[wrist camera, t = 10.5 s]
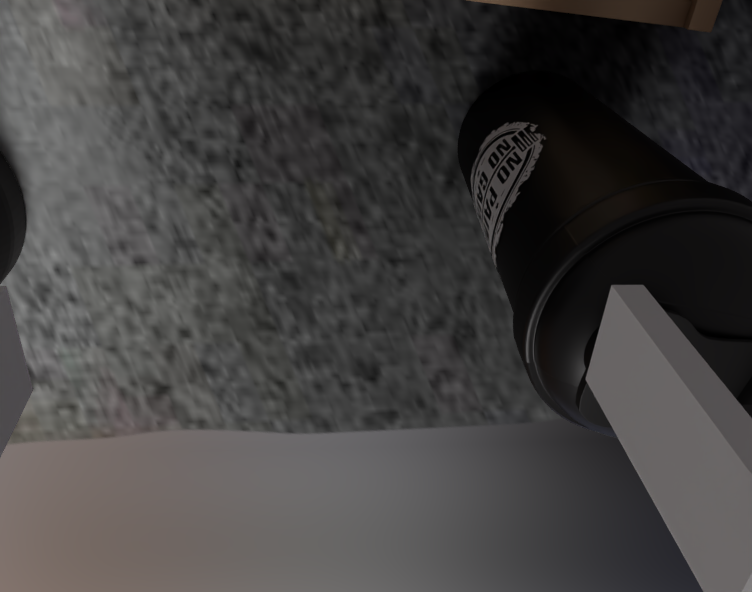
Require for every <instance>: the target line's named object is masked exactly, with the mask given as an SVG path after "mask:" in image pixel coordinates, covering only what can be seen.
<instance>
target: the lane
mask: <svg viewBox="0 0 752 592" xmlns="http://www.w3.org/2000/svg"><path fill="white" fill-rule="evenodd" d="M468 1H476V2H484V3H492V4H500V5H508V6H516V7H524V8H532V9H540V10H548V11H556V12H564V13H572V14H580V15H588V16H596V17H604V18H612V19H620V20H628V21H636V22H644V23H652V24H660V25H668V26H676V27H684V28H686V29H688V30H696V31H704V32H711V31H712V28H713V26H714V23H715V20H716V17H717V14H718V11H719V9H720V6H721V3H722V0H468Z"/></svg>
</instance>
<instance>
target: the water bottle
mask: <svg viewBox="0 0 752 592" xmlns="http://www.w3.org/2000/svg"><path fill="white" fill-rule="evenodd" d="M458 158H459V163H460V167H461V170H462V173H463V176H464V178H465V181H466V184H467V187H468V189H469V192H470V195H471V197H472V200H473V203H474V206H475V210H476V213H477V214H478V215H477V217H478V218H479V219H480V220H479V221H480V224H481V228H482V230H483V232H484V236H485V239H486V241H487V244H488V247H489V250H490V253H491V252H492V253H491V255H492V258H493V261H494V264H495V266H497V267H496V269H497V270H498V271H497V272H499V274H500V277H501V278H500V279H501V280H502V282H503V285H504V288H505V291H506V293H507V296H508V299H509V301H510V304H511V307H512V310H513V312H514V315H513V332H514V339H515V341H516V344H517V348H518V351H519V354H520V356H521V359H522V361H523V364H524V366H525V369H526V371H527V374H528V376H529V379H530V381H531V383H532V385H533V387H534V388H535V390H536V391H537V393H538V394H539V396H540V397H541V398H542V400H543V401H544V402H545V403H546V404H547V405H548V406H549V407H550V408H551V409H552V410H553V411H554V412H556V413H557V414H558V415H560V416H561V417H563V418H564V419H566V420H567V421H569V422H571V423H573V424H575V425H577V426H580V427H582V428H585V429H589V430H592V431H596V432H599V433H602V434H605V435H608V436H612V437H616V438H618V437H617V435H616V433H615V432H614V430H613V428H612V426H611V424H610V423H609V421H608V419H607V417H606V416H605V414H604V412H603V410H602V408H601V407H600V405H599V403H598V401H597V399H596V398H595V396H594V394H593V392H592V390H591V389H590V387H589V385H588V383H587V381H586V380H585V379H586V376H587V372H588V368H589V365H590V361H591V357H592V354H593V350H594V347H595V343H596V339H597V336H598V332H599V328H600V325H601V321H602V318H603V314H604V310H605V307H606V303H607V299H608V296H609V292H610V289H611V285H644V286H645V288H646V289H647V290H648V291H649V292H650V294H651V295H652V296H653V297H654V299H655V300H656V301H657V302H658V304H659V305H660V306H661V307H662V308H663V310H664V311H665V312H666V313H667V315H668V316H669V317H670V318H671V320H672V321H673V322H674V323H675V324H676V326H677V327H678V328H679V329H680V331H681V332H682V333H683V334H684V336H685V337H686V338H687V339H688V340H689V342H690V343H691V344H692V345H693V347H694V348H695V349H696V350H697V352H698V353H699V354H700V355H701V356H702V358H703V359H704V360H705V361H706V363H707V364H708V365H709V366H710V368H711V369H712V370H713V371H714V372H715V374H716V375H717V376H718V377H719V379H720V380H721V381H722V382H723V383H724V385H725V386H726V387H727V388H728V390H729V391H730V392H731V393H732V395H733V396H734V397H735V398H736V399H737V401H738V402H739V403H740V404H741V405H752V202H751V201H750V200H749V199H747V198H746V197H744V196H742V195H741V194H739V193H737V192H735V191H733V190H730V189H728V188H725V187H722V186H719V185H716V184H713V183H709V182H708V181H706V180H705V179H703V178H702V177H701V176H699V175H698V174H697V173H695V172H694V171H693V170H691V169H690V168H689V167H687V166H686V165H685V164H683V163H682V162H681V161H679V160H678V159H677V158H675V157H674V156H673V155H671V154H670V153H669V152H667V151H666V150H665V149H663V148H662V147H661V146H659V145H658V144H657V143H655V142H654V141H653V140H651V139H650V138H649V137H647V136H646V135H645V134H643V133H642V132H641V131H639V130H638V129H637V128H635V127H634V126H633V125H631V124H630V123H629V122H627V121H626V120H624V119H623V118H622V117H620V116H619V115H618V114H616V113H615V112H614V111H612V110H611V109H610V108H608V107H607V106H606V105H604V104H603V103H602V102H600V101H599V100H598V99H596V98H595V97H594V96H592V95H591V94H590V93H588V92H587V91H586V90H584V89H583V88H582V87H580V86H579V85H578V84H576V83H575V82H574V81H572V80H570V79H569V78H567V77H564V76H562V75H559V74H556V73H552V72H546V71H530V72H523V73H519V74H515V75H512V76H510V77H507V78H505V79H503V80H501V81H499V82H498V83H496V84H494V85H493V86H492V87H490V88H489V89H488V90H486V91H485V92H484V93H483V94H482V95H481V96H480V97H479V98H478V99H477V100H476V102H475V103H474V104H473V106H472V107H471V108H470V110H469V112H468V113H467V115H466V117H465V119H464V122H463V124H462V127H461V130H460V134H459V140H458Z"/></svg>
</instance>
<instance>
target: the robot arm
mask: <svg viewBox="0 0 752 592" xmlns="http://www.w3.org/2000/svg"><path fill="white" fill-rule="evenodd" d="M25 229H26V217H25V208H24V203H23V198H22V195H21V191H20V188H19V186H18V183H17V180H16V178H15V176H14V174H13V172H12V170H11V168H10V166H9V164H8V163H7V161H6V159H5V158H4V156H3V155H2V153H1V152H0V284H1V283H2V281H3V280H4V279H5V277H6V276H7V275H8V273H9V272H10V271H11V270H12V268H13V267H14V265H15V263H16V261H17V259H18V257H19V255H20V253H21V250H22V247H23V243H24V238H25ZM585 380H586V381H587V383H588V385H589V387H590V389H591V390H592V392H593V394H594V396H595V398H596V399H597V401H598V403H599V405H600V407H601V408H602V410H603V412H604V414H605V416H606V417H607V419H608V421H609V423H610V424H611V426H612V428H613V430H614V432H615V433H616V435H617V437H618V439H619V441H620V442H621V444H622V446H623V448H624V449H625V451H626V453H627V455H628V457H629V459H630V460H631V462H632V464H633V466H634V468H635V469H636V471H637V473H638V475H639V477H640V478H641V480H642V482H643V484H644V486H645V487H646V489H647V491H648V493H649V494H650V496H651V498H652V499H653V502H654V504H655V505H656V507H657V509H658V511H659V512H660V514H661V516H662V518H663V520H664V521H665V523H666V525H667V527H668V529H669V530H670V532H671V534H672V536H673V538H674V539H675V541H676V543H677V545H678V547H679V548H680V550H681V552H682V554H683V555H684V557H685V559H686V561H687V563H688V565H689V566H690V568H691V570H692V572H693V573H694V575H695V577H696V579H697V580H698V582H699V584H700V586H701V588H702V590H703V592H752V405H741V404H740V403H739V402H738V401H737V399H736V398H735V397H734V396H733V395H732V393H731V392H730V391H729V390H728V388H727V387H726V386H725V385H724V383H723V382H722V381H721V380H720V379H719V377H718V376H717V375H716V374H715V372H714V371H713V370H712V369H711V368H710V366H709V365H708V364H707V363H706V361H705V360H704V359H703V358H702V356H701V355H700V354H699V353H698V352H697V350H696V349H695V348H694V347H693V345H692V344H691V343H690V342H689V340H688V339H687V338H686V337H685V336H684V334H683V333H682V332H681V331H680V329H679V328H678V327H677V326H676V324H675V323H674V322H673V321H672V320H671V318H670V317H669V316H668V315H667V313H666V312H665V311H664V310H663V308H662V307H661V306H660V305H659V304H658V302H657V301H656V300H655V299H654V297H653V296H652V295H651V294H650V292H649V291H648V290H647V289H646V288H645V286H644V285H611V289H610V292H609V296H608V299H607V303H606V307H605V310H604V314H603V318H602V321H601V325H600V328H599V332H598V336H597V339H596V343H595V347H594V350H593V354H592V357H591V361H590V365H589V368H588V372H587V376H586V379H585ZM32 391H33V387H32V384H31V380H30V376H29V372H28V368H27V364H26V360H25V357H24V353H23V349H22V345H21V341H20V337H19V333H18V330H17V326H16V322H15V318H14V314H13V310H12V306H11V303H10V299H9V295H8V291H7V287H6V286H0V457H1V454H2V453H3V451H4V449H5V447H6V445H7V443H8V441H9V438H10V436H11V434H12V432H13V430H14V428H15V426H16V424H17V422H18V420H19V418H20V416H21V414H22V412H23V410H24V408H25V405H26V403H27V401H28V399H29V397H30V395H31V393H32Z"/></svg>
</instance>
